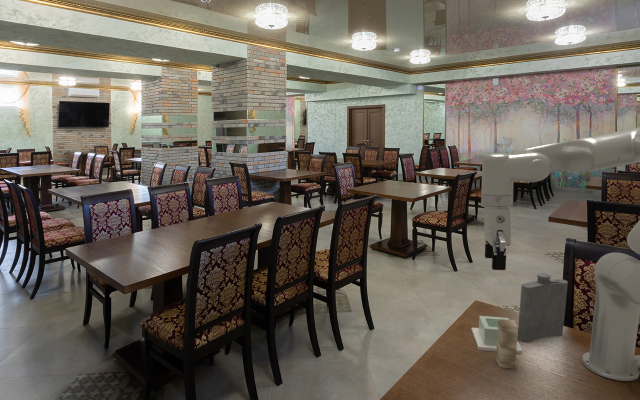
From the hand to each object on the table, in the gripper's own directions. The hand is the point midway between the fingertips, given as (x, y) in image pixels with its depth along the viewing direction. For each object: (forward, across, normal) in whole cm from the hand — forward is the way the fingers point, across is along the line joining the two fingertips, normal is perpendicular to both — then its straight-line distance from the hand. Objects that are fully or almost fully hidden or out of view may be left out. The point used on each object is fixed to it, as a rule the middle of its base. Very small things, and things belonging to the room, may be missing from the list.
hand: (494, 263), depth 108 cm
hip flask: (+29, +17, -17) cm, 38 cm away
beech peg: (+28, -1, -3) cm, 29 cm away
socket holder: (+28, +11, -3) cm, 31 cm away
